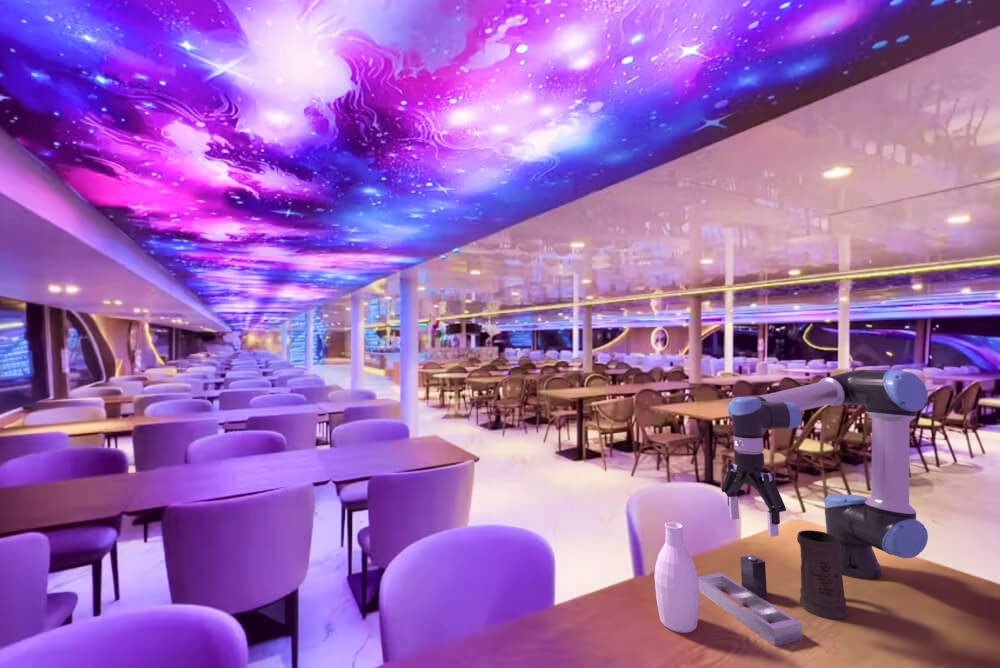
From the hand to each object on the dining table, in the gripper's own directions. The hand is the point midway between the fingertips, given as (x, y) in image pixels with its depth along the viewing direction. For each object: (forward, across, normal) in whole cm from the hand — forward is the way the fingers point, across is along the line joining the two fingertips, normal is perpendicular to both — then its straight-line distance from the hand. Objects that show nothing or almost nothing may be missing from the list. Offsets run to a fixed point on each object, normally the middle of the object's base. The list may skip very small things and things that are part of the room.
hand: (753, 527), depth 127 cm
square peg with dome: (+21, -5, +4) cm, 22 cm away
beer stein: (+22, +5, +16) cm, 28 cm away
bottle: (+22, 0, -27) cm, 34 cm away
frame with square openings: (+21, +2, -6) cm, 22 cm away
